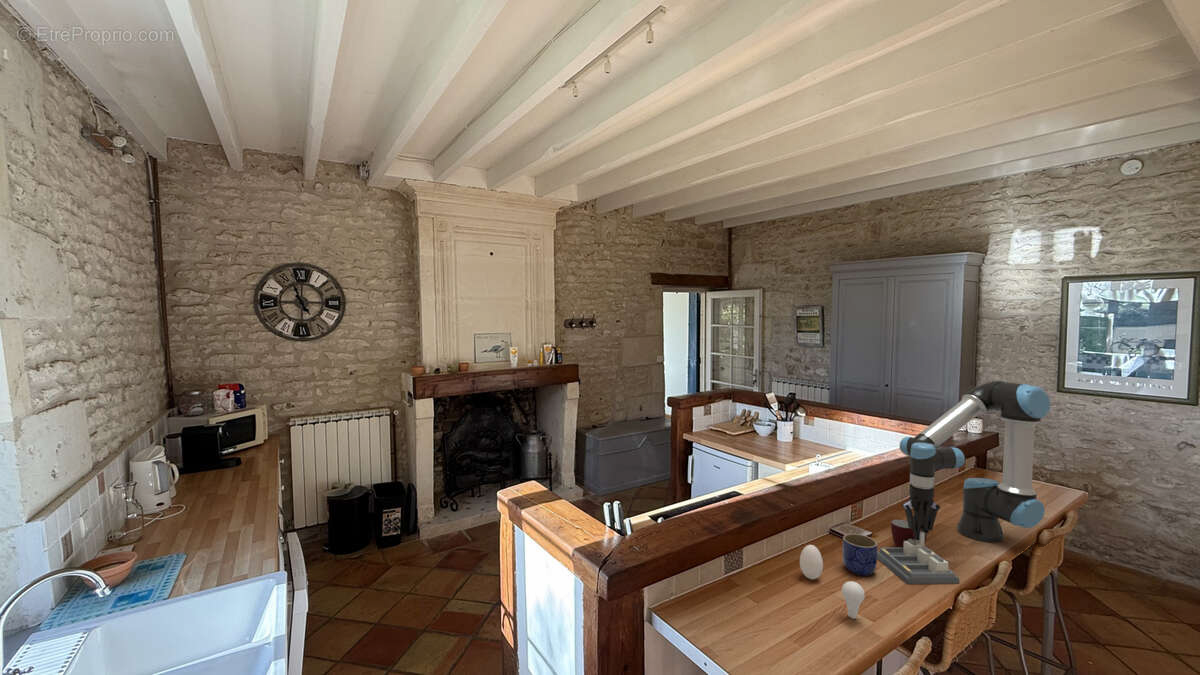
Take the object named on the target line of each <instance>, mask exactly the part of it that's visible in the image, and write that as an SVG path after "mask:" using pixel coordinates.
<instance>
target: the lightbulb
mask: <svg viewBox="0 0 1200 675" xmlns="http://www.w3.org/2000/svg"><path fill="white" fill-rule="evenodd" d="M841 593H842V596H843V599H844V600H845V603H846V609H847V615H848V617H849V618H850V619H854V620H855V619H857V618H858V613H859V610H860V606H861V604H862V602H864V600H865V597H866V596H865V595H866V593H865V589H863V587H862V585H860V584H859V583H858V582H856V581H850V580H849V581H846V582H845V583H843V585H842V586H841Z"/></svg>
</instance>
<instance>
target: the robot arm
mask: <svg viewBox="0 0 1200 675" xmlns="http://www.w3.org/2000/svg"><path fill="white" fill-rule="evenodd" d="M1050 400H1051V399H1050V397H1049V395H1048V393H1047V392H1045V390H1044V389H1043V388H1041V387H1039V386H1037V385H1031V384H1028V383H1025V384H1024V383H1016V382H1008V381H1002V380H993V381H988V382H985V383H982V384H980V385H978V386H976V387H974V388H972V389H970V390H969V391H967V392H966V393H965V394H963V395H962V396H961V400H960V401H959V402H958V403H957V404H955V405H953V407H952V408H949V410H947V411H946V412H945V413H943V414H942V415H941V416H939V417H938V418H937V419H936V420H934V421H933V422H932V423H931V424H929V426H926V427H925V429H923V430H922V431H920V432H919V433H918V434H916V435H915V436H914V437H913V436H904V437H903V438H902V439H901V440H900V442H899V450H900V451H901V453H902V454H904V455H906V456H908V457H910V463H909V464H910V465H909V466H910V468H909V469H910V470H909V491H908V492H909V493H908V494H909V498H908V501H907V502H903V503H902V504H901V506H902V507H903V508H904V512H905V517H906V521H907V522H908V527H909V528H911V529H912V530H914V541H915V539H916V541H915V542H917V543H918V544H919V545H921V549H922V546H925V541H927V534H929V533H930V531H932V530H933V529H934V525H935V521H936V518H937V515H938V511H939V510H940V508H941V506H940V504H937V503H936V502H934V498H935V477H936V476H935V472H936V470H946V469H951V470H952V469H958V468H961V467H963V466H964V464H965V462H966V457H965V455H964V453H963V451H962V450H961V449H959V448H957V447H955V446H954V447H953V446H948V447H945V446H940V445H941V444H943V443H944V442H946V441H947V440H948V439H949V438H951V437H952V436H953V435H954V434H956V433H957V432H959V431H960V430H961V429H962V428H963V427H964V426H966V425H968V424H969V423H970V422H971V421H972V420H973V419H975V418H976V417H977V416H979V415H984V414H986V413H988V412H989V411H1000V419H1002V421H1004V422H1005V424H1004V440H1003V441H1004V442H1003V445H1004V446H1003V462H1002V463H1003V464H1002V465H1003V466H1002V481H1001V482H1000V481H998V480H995V479H991V478H984V477H968V478H966V479H965V480H964V482H963V489H962V490H963V496H962V497H963V498H962V503H963V504H962V508H963V509H962V514H961V516H960V518H959V521H958V522H957V526H956V528H957V532H958V533H959V534H961V535H963V536H965V537H967V538H970V539H973V540H975V541H980V542H981V541H982V542H985V543H986V542H987V543H1001V542H1003V541H1004V531H1003V529H1002V525H1001V523H1000V520H999V519H1001V520H1003V521H1006V522H1007V523H1010V524H1011V525H1013V526H1017V527H1021V528H1024V529H1030V528H1034V527H1035V526H1038V525H1039V523H1040V522H1041V521H1042V519H1043V518H1044V516H1045V512H1046V511H1045V508H1046V507H1045V506H1044V503H1043V502H1041V501H1040V500H1039V499H1037V496H1038V495H1037V491H1036V490H1035V489H1034V488H1033V486H1032V484H1033V468H1034V467H1033V466H1034V452H1035V451H1034V447H1035V429H1036V425H1037V424H1039V423H1040V422H1041V419H1043V418H1045V417H1046V416H1047V415H1048V413H1049V412H1050V411H1051V401H1050Z"/></svg>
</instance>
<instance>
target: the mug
mask: <svg viewBox="0 0 1200 675" xmlns="http://www.w3.org/2000/svg"><path fill="white" fill-rule="evenodd" d="M890 532H891V536H892V540H893V543H894V546H895V548H903V547H904V541H908V539H912V540H914V541H916V539H914V530H912V529H911V528H909V527H908V522H907V520H903V519H893V520H891V522H890Z"/></svg>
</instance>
